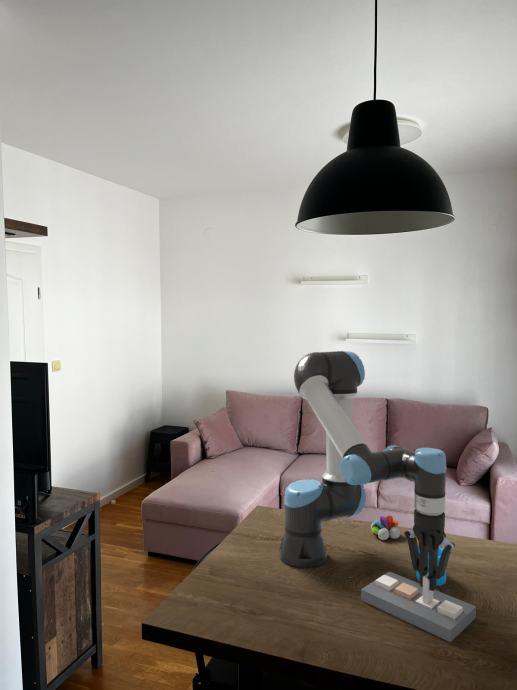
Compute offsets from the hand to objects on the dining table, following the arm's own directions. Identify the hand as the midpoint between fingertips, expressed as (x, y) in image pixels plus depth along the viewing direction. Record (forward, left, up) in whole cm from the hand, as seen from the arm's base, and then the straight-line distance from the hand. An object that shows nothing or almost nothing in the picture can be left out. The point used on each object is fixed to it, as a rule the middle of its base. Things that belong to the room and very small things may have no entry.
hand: (427, 600), depth 134 cm
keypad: (-3, 0, -4) cm, 5 cm away
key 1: (-12, 0, -2) cm, 12 cm away
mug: (-9, +19, -4) cm, 21 cm away
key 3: (0, 0, -3) cm, 3 cm away
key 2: (-6, 0, -2) cm, 7 cm away
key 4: (+6, 0, -2) cm, 6 cm away
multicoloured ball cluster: (-33, +33, -4) cm, 47 cm away
